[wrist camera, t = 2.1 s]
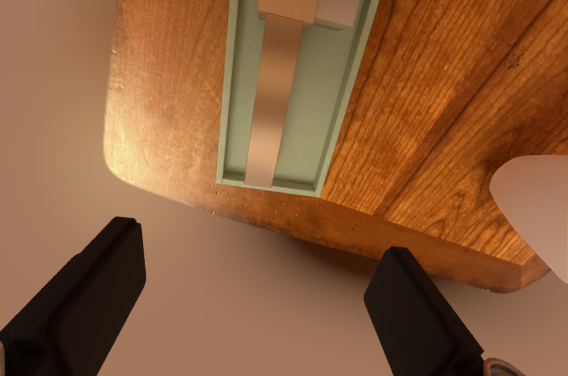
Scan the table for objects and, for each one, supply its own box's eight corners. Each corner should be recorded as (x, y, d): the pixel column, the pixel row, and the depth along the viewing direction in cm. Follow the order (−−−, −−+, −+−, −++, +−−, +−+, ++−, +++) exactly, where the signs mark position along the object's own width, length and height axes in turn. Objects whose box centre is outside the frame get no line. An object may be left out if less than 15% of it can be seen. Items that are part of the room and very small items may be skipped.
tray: (218, 174, 25) (215, 183, 23) (244, -135, 15) (241, -159, 13) (316, 188, 26) (319, 197, 25) (395, -84, 17) (409, -100, 15)
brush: (302, 174, 25) (308, 193, 21) (240, 164, 24) (236, 183, 20) (361, -64, 17) (387, -95, 13) (271, -92, 16) (274, -134, 12)
